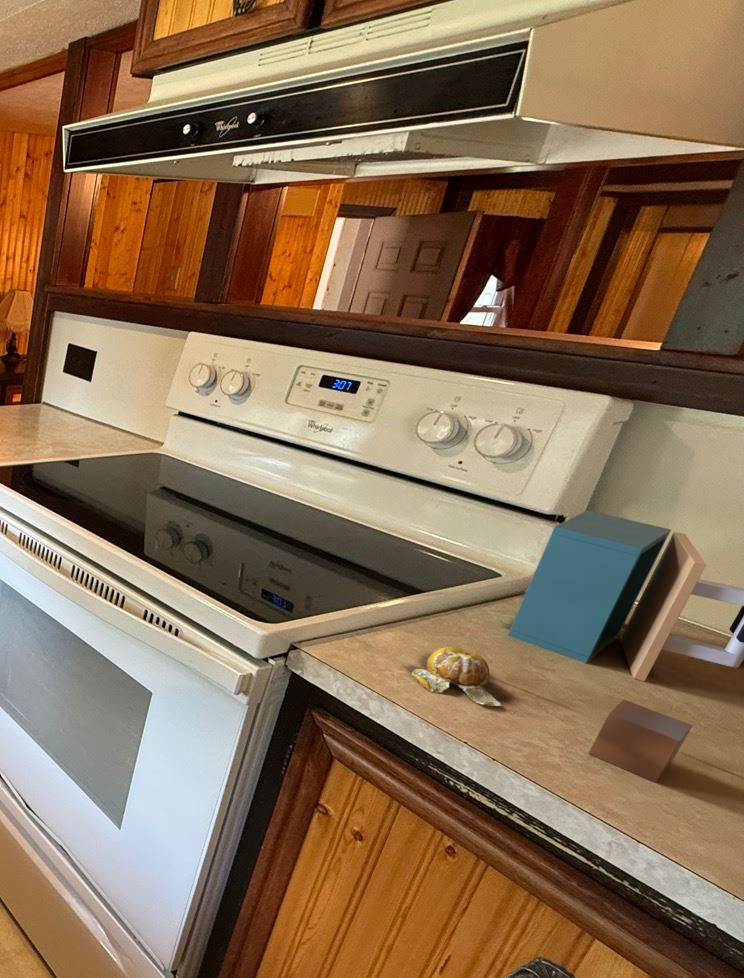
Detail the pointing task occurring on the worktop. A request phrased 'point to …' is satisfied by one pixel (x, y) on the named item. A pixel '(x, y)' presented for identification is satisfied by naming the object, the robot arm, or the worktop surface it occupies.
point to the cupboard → (587, 584)
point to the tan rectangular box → (676, 611)
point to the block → (639, 740)
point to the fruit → (457, 674)
